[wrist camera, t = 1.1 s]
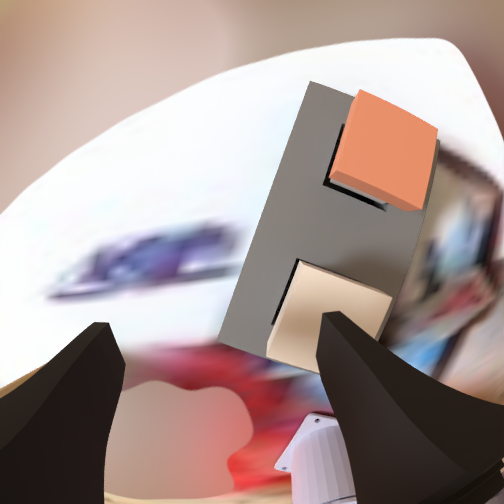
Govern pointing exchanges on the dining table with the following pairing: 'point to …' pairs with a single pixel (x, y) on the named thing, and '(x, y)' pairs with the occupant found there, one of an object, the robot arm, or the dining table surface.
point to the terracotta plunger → (385, 153)
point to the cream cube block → (310, 313)
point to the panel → (317, 228)
